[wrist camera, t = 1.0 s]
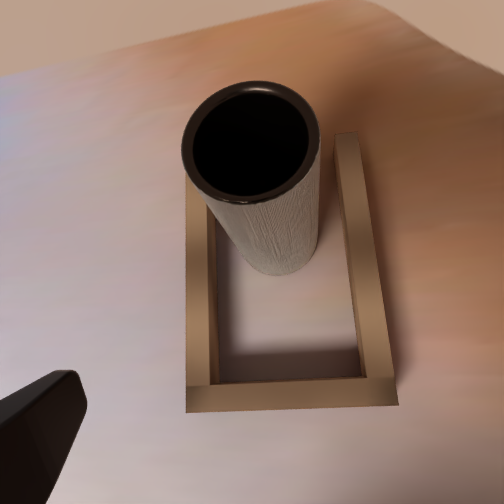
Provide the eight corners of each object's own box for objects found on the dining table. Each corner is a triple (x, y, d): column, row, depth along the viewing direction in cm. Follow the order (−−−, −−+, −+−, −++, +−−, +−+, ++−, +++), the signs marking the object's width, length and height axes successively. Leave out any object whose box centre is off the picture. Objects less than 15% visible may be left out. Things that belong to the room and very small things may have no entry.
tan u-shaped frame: (389, 400, 18) (398, 405, 16) (198, 407, 20) (185, 412, 18) (353, 150, 22) (357, 131, 20) (195, 170, 24) (185, 154, 22)
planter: (224, 232, 22) (154, 133, 12) (285, 187, 22) (263, 54, 13) (269, 292, 21) (231, 233, 11) (334, 244, 21) (351, 143, 11)
